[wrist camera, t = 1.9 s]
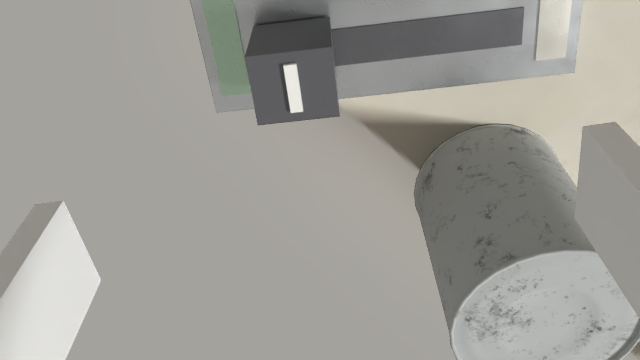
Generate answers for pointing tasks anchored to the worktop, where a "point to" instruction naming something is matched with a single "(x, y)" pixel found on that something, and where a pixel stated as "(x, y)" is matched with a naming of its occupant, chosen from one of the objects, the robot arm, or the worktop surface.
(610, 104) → the worktop surface
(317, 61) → the breaker
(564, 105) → the worktop surface
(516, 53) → the panel
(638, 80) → the worktop surface
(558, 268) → the grey stone cylinder
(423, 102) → the worktop surface
